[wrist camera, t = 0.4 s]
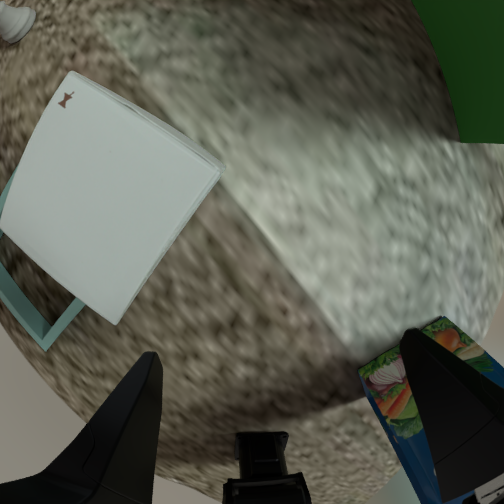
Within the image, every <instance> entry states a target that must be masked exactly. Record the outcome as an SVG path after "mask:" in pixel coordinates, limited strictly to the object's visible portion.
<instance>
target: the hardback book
mask: <svg viewBox="0 0 504 504" xmlns="http://www.w3.org/2000/svg"><path fill="white" fill-rule="evenodd" d="M411 1H412V2H413V4H414V6H415V8H416V10H417V12H418V14H419V16H420V18H421V20H422V22H423V24H424V27H425V29H426V31H427V33H428V36H429V38H430V40H431V43H432V45H433V48H434V50H435V53H436V55H437V58H438V61H439V63H440V66H441V69H442V72H443V75H444V78H445V81H446V84H447V87H448V91H449V94H450V98H451V101H452V105H453V109H454V113H455V117H456V122H457V126H458V131H459V136H460V141H461V143H494V144H504V0H411Z"/></svg>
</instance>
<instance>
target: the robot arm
mask: <svg viewBox="0 0 504 504" xmlns="http://www.w3.org/2000/svg"><path fill="white" fill-rule="evenodd" d="M399 350H400V354H401V357H402V361H403V365H404V368H405V372H406V376H407V380H408V383H409V386H410V389H411V392H412V395H413V398H414V400H415V403H416V406H417V409H418V412H419V415H420V419H421V422H422V425H423V428H424V432H425V435H426V438H427V442H428V445H429V449H430V453H431V456H432V460H433V464H434V469H435V473H436V477H437V481H438V486H439V490H440V495H441V500H442V503H443V504H444V503H446V502H449V501H451V500H453V499H456V498H458V497H460V496H462V495H464V494H466V493H468V492H470V491H473V490H474V493H473V494H471V495H470V496H468V497H467V498H465V499H464V500H463V502H462V504H504V388H502V387H501V386H499V385H497V384H496V383H494V382H493V381H491V380H490V379H489V378H487V377H486V376H484V375H483V374H482V373H480V372H479V371H477V370H476V369H475V368H473V367H472V366H470V365H469V364H468V363H466V362H465V361H463V360H462V359H461V358H459V357H458V356H456V355H455V354H454V353H452V352H451V351H449V350H448V349H446V348H445V347H444V346H442V345H441V344H439V343H438V342H436V341H435V340H433V339H432V338H431V337H429V336H428V335H426V334H425V333H423V332H422V331H420V330H419V329H417V328H410V329H407V330H406V331H405V333H404V335H403V337H402V339H401V341H400V344H399ZM162 388H163V367H162V364H161V361H160V359H159V356H158V354H157V353H156V352H150V351H147V352H144V353H143V354H142V356H141V357H140V358H139V359H138V360H137V362H136V363H135V364H134V365H133V367H132V368H131V369H130V370H129V372H128V373H127V374H126V375H125V376H124V378H123V379H122V380H121V381H120V383H119V384H118V385H117V386H116V388H115V389H114V390H113V391H112V393H111V394H110V395H109V396H108V398H107V399H106V400H105V401H104V403H103V404H102V405H101V406H100V408H99V409H98V410H97V412H96V413H95V414H94V415H93V417H92V418H91V419H90V420H89V422H88V423H87V424H86V426H85V427H84V428H83V429H82V430H81V432H80V433H79V434H78V435H77V437H76V438H75V439H74V440H73V441H72V442H71V443H70V444H69V446H67V447H66V448H65V449H64V450H63V452H61V454H60V455H59V456H58V457H57V458H55V460H53V461H52V463H50V465H48V466H47V467H46V468H45V469H44V470H43V471H42V472H40V473H38V474H36V475H33V476H30V477H26V478H23V479H19V480H15V481H11V482H6V483H2V484H0V504H152V495H153V483H154V482H153V481H154V472H155V462H156V453H157V444H158V436H159V428H160V421H161V413H162ZM288 437H289V435H288V433H287V432H281V433H257V434H237V435H236V440H235V460H239V470H240V479H232V478H228V482H227V483H225V484H223V501H222V504H312V502H311V497H310V493H309V491H308V488H307V485H306V482H305V479H304V476H303V474H302V472H298V473H296V474H289V475H288V471H287V466H286V461H285V456H284V450H285V447H286V444H287V441H288Z"/></svg>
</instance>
